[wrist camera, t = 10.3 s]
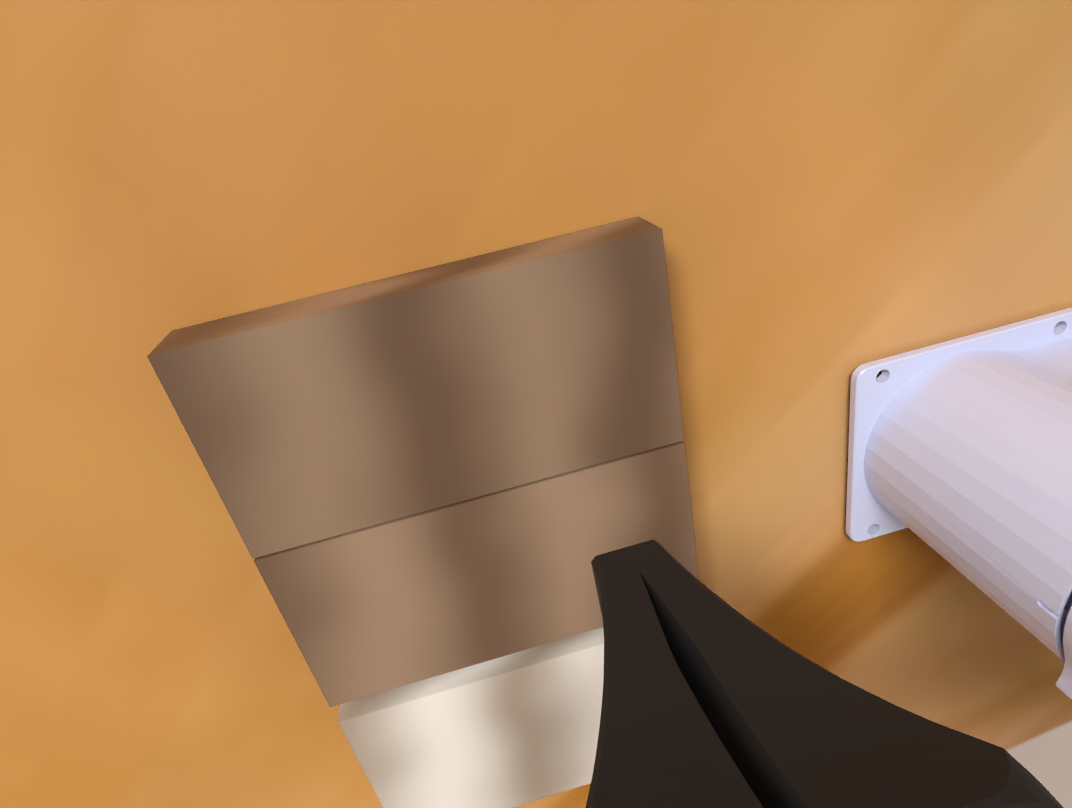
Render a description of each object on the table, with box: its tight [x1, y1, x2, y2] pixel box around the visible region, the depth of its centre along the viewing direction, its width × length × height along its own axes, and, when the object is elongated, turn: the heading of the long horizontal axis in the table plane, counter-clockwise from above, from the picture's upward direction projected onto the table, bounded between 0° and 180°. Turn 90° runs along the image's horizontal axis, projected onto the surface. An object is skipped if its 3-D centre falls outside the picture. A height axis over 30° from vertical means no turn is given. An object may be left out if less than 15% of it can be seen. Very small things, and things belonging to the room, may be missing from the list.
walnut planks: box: [147, 217, 699, 707], centre depth 21 cm, size 14×14×2 cm
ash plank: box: [338, 627, 604, 808], centre depth 27 cm, size 14×8×2 cm, turn 102°
